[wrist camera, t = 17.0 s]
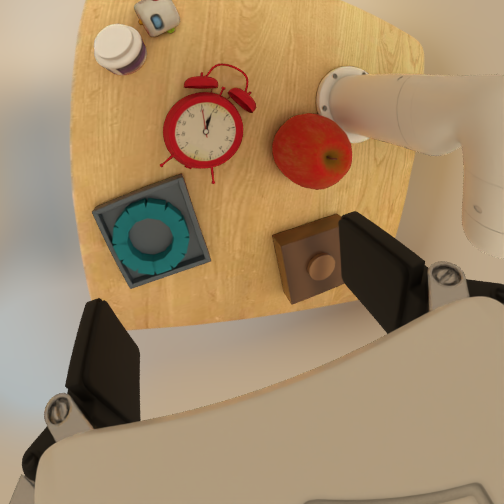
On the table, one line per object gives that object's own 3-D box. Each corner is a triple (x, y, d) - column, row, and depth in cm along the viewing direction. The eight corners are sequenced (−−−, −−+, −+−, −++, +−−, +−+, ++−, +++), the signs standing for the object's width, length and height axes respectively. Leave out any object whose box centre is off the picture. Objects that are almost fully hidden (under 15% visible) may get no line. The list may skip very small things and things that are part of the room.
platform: (337, 213, 46) (352, 224, 42) (340, 269, 53) (353, 283, 49) (271, 235, 45) (282, 249, 41) (283, 291, 51) (293, 307, 47)
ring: (173, 187, 37) (173, 191, 35) (197, 253, 42) (198, 260, 40) (103, 214, 35) (100, 220, 34) (133, 275, 41) (131, 283, 39)
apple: (321, 182, 43) (358, 206, 34) (259, 174, 40) (285, 196, 31) (335, 120, 38) (378, 129, 29) (272, 105, 35) (304, 107, 26)
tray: (182, 173, 37) (182, 176, 35) (209, 254, 44) (211, 261, 42) (95, 207, 35) (91, 212, 33) (131, 281, 42) (130, 289, 40)
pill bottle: (151, 40, 26) (145, 18, 18) (142, 76, 29) (131, 65, 21) (112, 38, 25) (94, 18, 16) (103, 75, 27) (81, 65, 19)
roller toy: (150, 45, 27) (147, 35, 22) (131, 13, 23) (125, -2, 19) (181, 30, 27) (183, 17, 22) (161, -2, 23) (161, -19, 19)
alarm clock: (147, 167, 32) (195, 51, 24) (154, 150, 36) (196, 51, 28) (224, 191, 36) (280, 87, 28) (221, 171, 40) (268, 81, 32)
